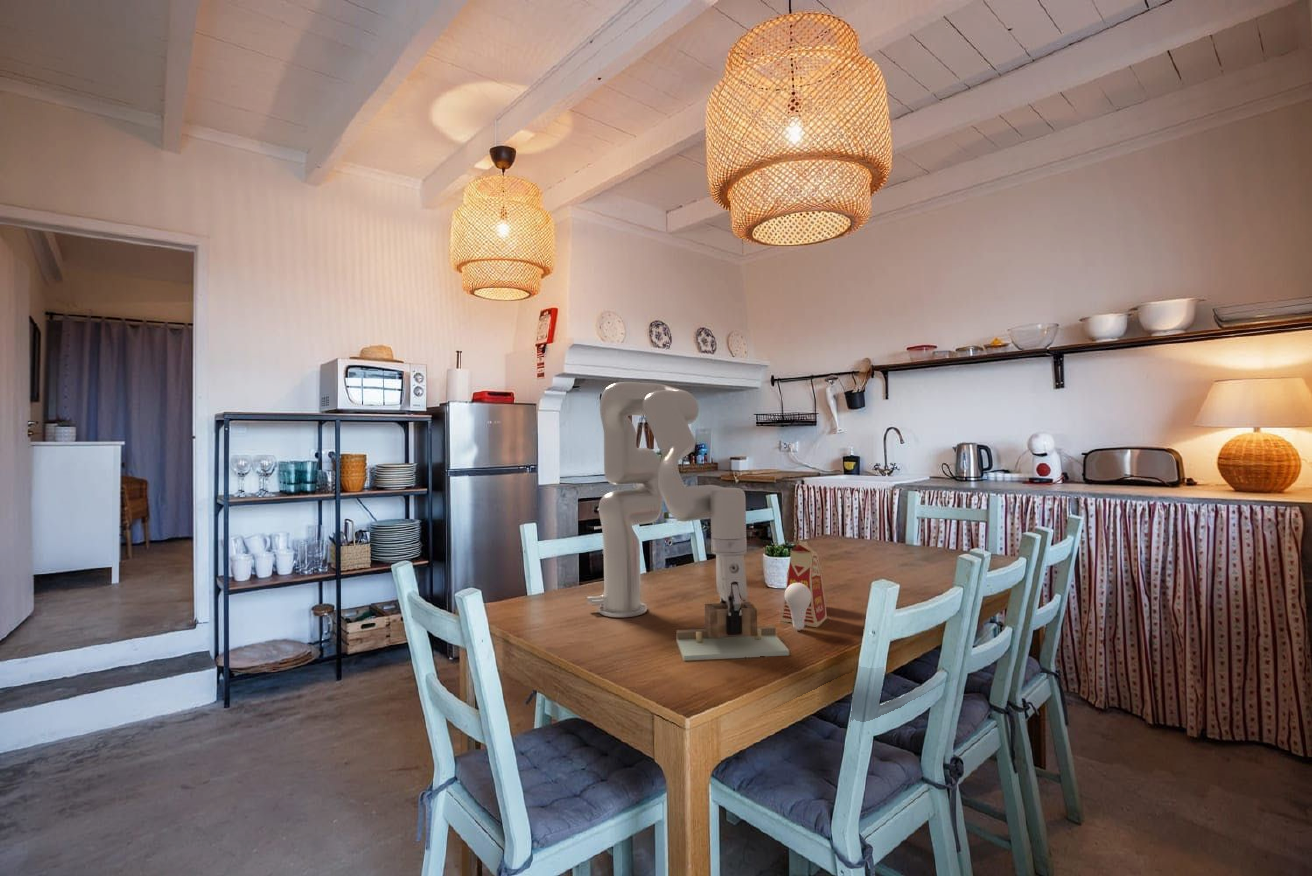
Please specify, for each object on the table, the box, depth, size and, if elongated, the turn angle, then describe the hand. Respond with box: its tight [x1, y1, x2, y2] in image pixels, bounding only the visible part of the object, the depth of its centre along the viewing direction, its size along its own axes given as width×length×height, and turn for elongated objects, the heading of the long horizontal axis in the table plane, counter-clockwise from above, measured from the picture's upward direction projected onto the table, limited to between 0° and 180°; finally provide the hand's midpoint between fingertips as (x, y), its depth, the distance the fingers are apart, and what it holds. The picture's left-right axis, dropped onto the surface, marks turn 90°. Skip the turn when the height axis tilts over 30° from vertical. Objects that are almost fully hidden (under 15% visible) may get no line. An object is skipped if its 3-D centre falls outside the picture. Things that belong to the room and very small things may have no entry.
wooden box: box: [704, 601, 758, 638], centre depth 134 cm, size 10×6×6 cm, turn 95°
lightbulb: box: [784, 583, 812, 631], centre depth 145 cm, size 6×6×11 cm
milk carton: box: [780, 539, 828, 628], centre depth 153 cm, size 9×9×20 cm
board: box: [675, 625, 790, 662], centre depth 134 cm, size 22×12×3 cm, turn 95°
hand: (730, 628), depth 134 cm, fingers closed on wooden box, 6 cm apart
